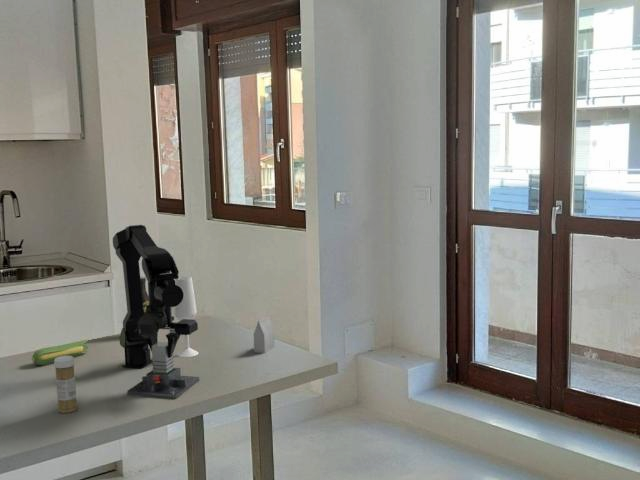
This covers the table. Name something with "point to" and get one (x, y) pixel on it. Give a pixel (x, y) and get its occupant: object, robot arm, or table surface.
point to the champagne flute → (186, 310)
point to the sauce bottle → (144, 293)
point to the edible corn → (59, 352)
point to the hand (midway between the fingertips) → (162, 356)
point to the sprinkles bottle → (65, 384)
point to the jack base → (163, 385)
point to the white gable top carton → (264, 336)
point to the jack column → (161, 359)
